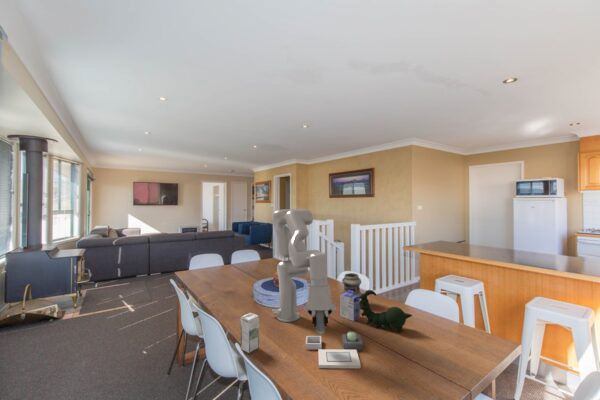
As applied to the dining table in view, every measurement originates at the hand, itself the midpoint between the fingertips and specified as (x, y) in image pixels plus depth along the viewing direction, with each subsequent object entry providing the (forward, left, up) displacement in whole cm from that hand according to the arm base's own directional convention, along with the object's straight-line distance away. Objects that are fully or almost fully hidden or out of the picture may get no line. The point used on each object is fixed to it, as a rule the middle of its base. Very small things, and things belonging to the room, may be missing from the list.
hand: (320, 324), depth 116 cm
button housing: (+14, +5, -11) cm, 19 cm away
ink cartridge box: (+17, +34, -12) cm, 40 cm away
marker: (0, 0, -3) cm, 3 cm away
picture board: (+7, -6, -11) cm, 15 cm away
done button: (+14, +5, -10) cm, 18 cm away
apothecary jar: (+21, +54, -12) cm, 59 cm away
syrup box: (-31, +2, -12) cm, 33 cm away
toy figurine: (+33, +22, -12) cm, 41 cm away
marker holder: (-3, +5, -11) cm, 13 cm away
